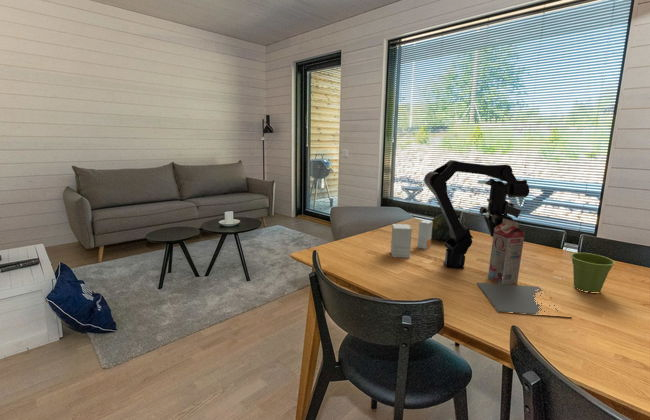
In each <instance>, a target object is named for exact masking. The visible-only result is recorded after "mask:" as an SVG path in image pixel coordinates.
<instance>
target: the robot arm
mask: <svg viewBox="0 0 650 420" xmlns="http://www.w3.org/2000/svg"><path fill="white" fill-rule="evenodd" d="M457 172H459V173H460V172H461V173H466V174H467V173H468V174H475V175H476V174H477V175H484V176H487V177H489V178H490V179H488V180H486V182H485V185H487V186H490V187H489V188H490V189H489V197H488V198H487V200H486V201H487V202H488V205H487V206H481V207H480V208H479V215H484V214H486V215H485V216H484V217H483V219H484V221H485V223H486V226H487V230H488V232H489V235H490V237H491V238H493V235H494V228H495V227H496V226H498V225H500V224H501V223H503V218H504V219H507V220H510V221H513V222H514V218H519V216H520V215H521V213H522V210H521V209H519V208H518V207H516V206H515V204H514V203H512V202H509V201H508V200H507V197H509V198H527V197H528V196H529V194H530V186H529V184H528V180H527V179H523V178H522V179H517V178H516V176H515V174H514V173H513V168H512V166H511V165H510V164H504V163H498V162H497V163H495V162H494V163H487V164H485V163H484V164H480V163H474V162H473V163H472V162H465V161H458V160H454V159H450V160H448V161H447V162H446V163H444V164H443V165H441V166H439V167H437V168H436V169H434V170H433V171H429V172H428V173H426V174H425V176H424V178H423V181H424V184H425V185H426V187H427V188H428V190H429V191H430V192H431V194H433V196H434V197H435V198H436V200H437V203H438V205H439V207H440V210H441V211H442V214H444V217H445V219H446V221H447V223H448V225H449V234H450V238H449V239H448V240H446V239H445V240H444V247H445V257H444V260H443V264H444V266H445V267H446V268H448V269H450V268H451V269H461V270H463V269H465V264H466V263H465V261H466V254H467V252H468V251H469V248H470V247H471V246H472V244H473V239H474V237H473V236H472V235H471V231H470V228H468V227H467V226H465V225H464V224H461V221H460V219H459V217H458V215H457V213H456V209H455V208H454V206H453V203H452V201H451V199H450V197H449V194H448V186H447V185H448V184H447V182H448V181H449V180H450V179H451V178H452V177H453V176H454V175H455V174H456V173H457ZM496 179H497V180H496ZM510 215H511V216H510ZM512 216H513V217H514V218H513V217H512Z"/></svg>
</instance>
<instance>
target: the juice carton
mask: <svg viewBox="0 0 650 420" xmlns="http://www.w3.org/2000/svg"><path fill="white" fill-rule="evenodd" d="M525 234H526V232H525V231H524V230H523V229H522V228H520V227H519V222H516V221H514V220H513V221H510V220H507V219H504V218H503V223H501V224H500V225H498V226H496V227H495V228H494V235H493V237H492V243H491V251H490V258H489V264H488V265H489V266H488V274H487V279H489V278H490V280H491V279H492V280H491V281H493V280H494V281H493V282H495V281H496V282H498V283H500V284H509V285H511V284H510V283H517V284H518V282H519V281H518V280H519V275H520V274H519V273H520V266H521V259H522V254H523V247H524V241H525ZM502 277H503V278H502ZM496 282H495V283H496ZM498 283H497V284H498Z"/></svg>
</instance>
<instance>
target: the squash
mask: <svg viewBox="0 0 650 420" xmlns="http://www.w3.org/2000/svg"><path fill="white" fill-rule="evenodd" d="M431 221H433V226H432V236H431V238H433V239H435V240H442V241H443V240H444V241H446V240H448V239H449V238H450V234H449V225H448V223H447V221H446V219H445V217H444V214H443V213H441V214H438V215H436V216H435V217H433V218H432V220H431Z"/></svg>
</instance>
